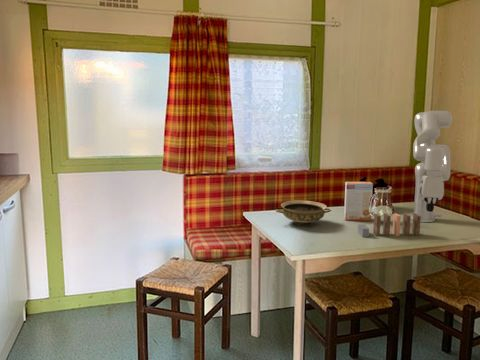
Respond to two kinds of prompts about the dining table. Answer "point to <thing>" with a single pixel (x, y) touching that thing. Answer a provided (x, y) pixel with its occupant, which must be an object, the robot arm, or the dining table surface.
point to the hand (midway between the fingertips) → (429, 211)
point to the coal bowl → (379, 184)
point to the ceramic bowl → (303, 211)
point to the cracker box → (357, 201)
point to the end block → (363, 230)
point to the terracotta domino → (396, 224)
